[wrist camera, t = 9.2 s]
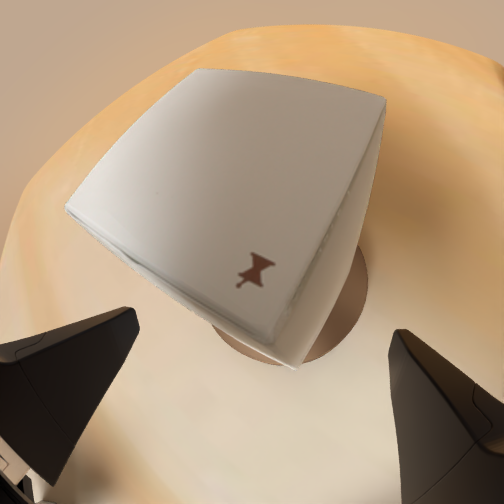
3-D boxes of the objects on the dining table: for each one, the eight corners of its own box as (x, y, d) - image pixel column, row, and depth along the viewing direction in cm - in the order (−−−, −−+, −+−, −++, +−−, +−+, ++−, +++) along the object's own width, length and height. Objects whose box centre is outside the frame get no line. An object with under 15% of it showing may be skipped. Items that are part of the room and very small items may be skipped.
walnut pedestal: (261, 394, 18) (254, 397, 15) (192, 273, 23) (177, 259, 20) (388, 306, 19) (400, 294, 16) (303, 204, 24) (302, 182, 21)
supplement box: (352, 269, 17) (399, 96, 6) (296, 374, 15) (267, 363, 4) (256, 225, 20) (198, 62, 9) (197, 314, 18) (53, 207, 7)
